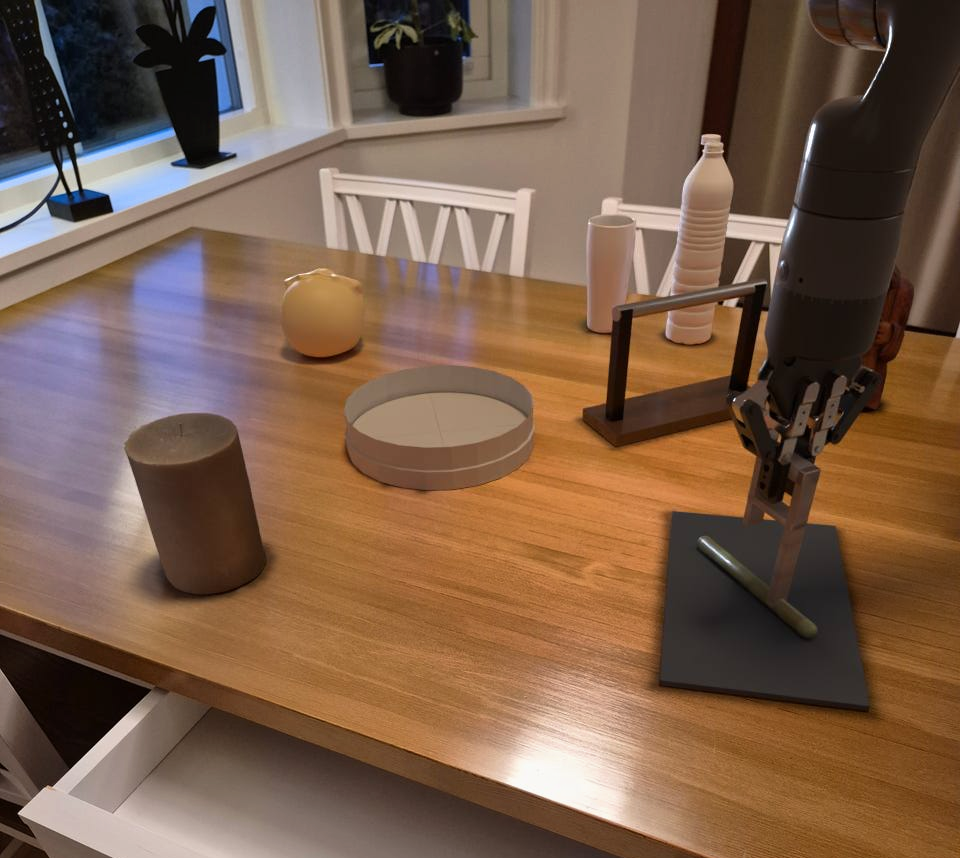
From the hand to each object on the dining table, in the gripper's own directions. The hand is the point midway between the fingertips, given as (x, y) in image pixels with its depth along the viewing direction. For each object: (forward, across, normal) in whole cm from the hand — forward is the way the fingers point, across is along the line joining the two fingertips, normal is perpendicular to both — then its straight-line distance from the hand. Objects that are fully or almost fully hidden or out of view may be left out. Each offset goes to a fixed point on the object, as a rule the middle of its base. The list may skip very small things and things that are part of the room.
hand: (780, 494), depth 71 cm
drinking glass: (+11, +22, +64) cm, 68 cm away
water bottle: (+11, +32, +56) cm, 65 cm away
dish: (+11, -14, +41) cm, 44 cm away
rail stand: (+11, +15, +35) cm, 39 cm away
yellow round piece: (+11, -18, +75) cm, 78 cm away
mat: (+11, 0, 0) cm, 11 cm away
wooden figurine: (+11, +34, +29) cm, 46 cm away
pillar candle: (+11, -43, +27) cm, 52 cm away
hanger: (+10, 0, 0) cm, 10 cm away
